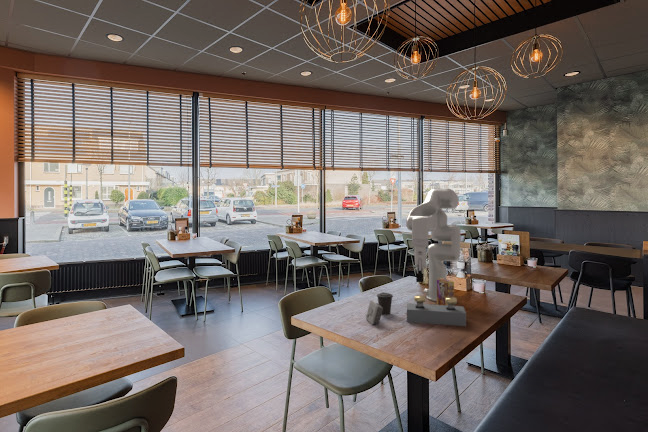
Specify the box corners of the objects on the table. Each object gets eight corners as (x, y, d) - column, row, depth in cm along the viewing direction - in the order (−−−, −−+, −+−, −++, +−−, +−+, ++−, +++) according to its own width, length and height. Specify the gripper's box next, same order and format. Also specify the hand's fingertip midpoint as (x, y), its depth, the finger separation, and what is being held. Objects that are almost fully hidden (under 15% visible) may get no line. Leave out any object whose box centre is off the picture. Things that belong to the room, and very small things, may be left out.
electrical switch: (365, 318, 173) (367, 299, 173) (375, 318, 174) (377, 300, 174) (371, 325, 164) (373, 305, 164) (382, 325, 165) (384, 305, 165)
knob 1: (414, 311, 169) (414, 297, 169) (414, 308, 174) (414, 294, 174) (425, 312, 168) (425, 298, 167) (425, 308, 173) (425, 295, 172)
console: (406, 322, 168) (406, 309, 167) (407, 315, 177) (407, 303, 177) (466, 326, 161) (466, 313, 161) (463, 318, 171) (463, 306, 171)
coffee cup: (383, 309, 187) (383, 290, 186) (396, 313, 181) (396, 293, 180) (373, 313, 181) (373, 293, 180) (386, 317, 175) (386, 296, 175)
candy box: (454, 311, 183) (454, 281, 182) (447, 312, 181) (447, 282, 181) (442, 306, 191) (443, 277, 190) (436, 307, 190) (436, 278, 189)
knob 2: (445, 313, 166) (445, 299, 165) (444, 310, 170) (444, 296, 170) (457, 314, 164) (457, 300, 164) (455, 310, 169) (456, 297, 169)
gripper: (429, 245, 161) (428, 285, 161) (427, 241, 175) (427, 278, 176) (411, 244, 163) (411, 284, 163) (411, 241, 177) (411, 278, 178)
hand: (419, 281), depth 170 cm, fingers closed
